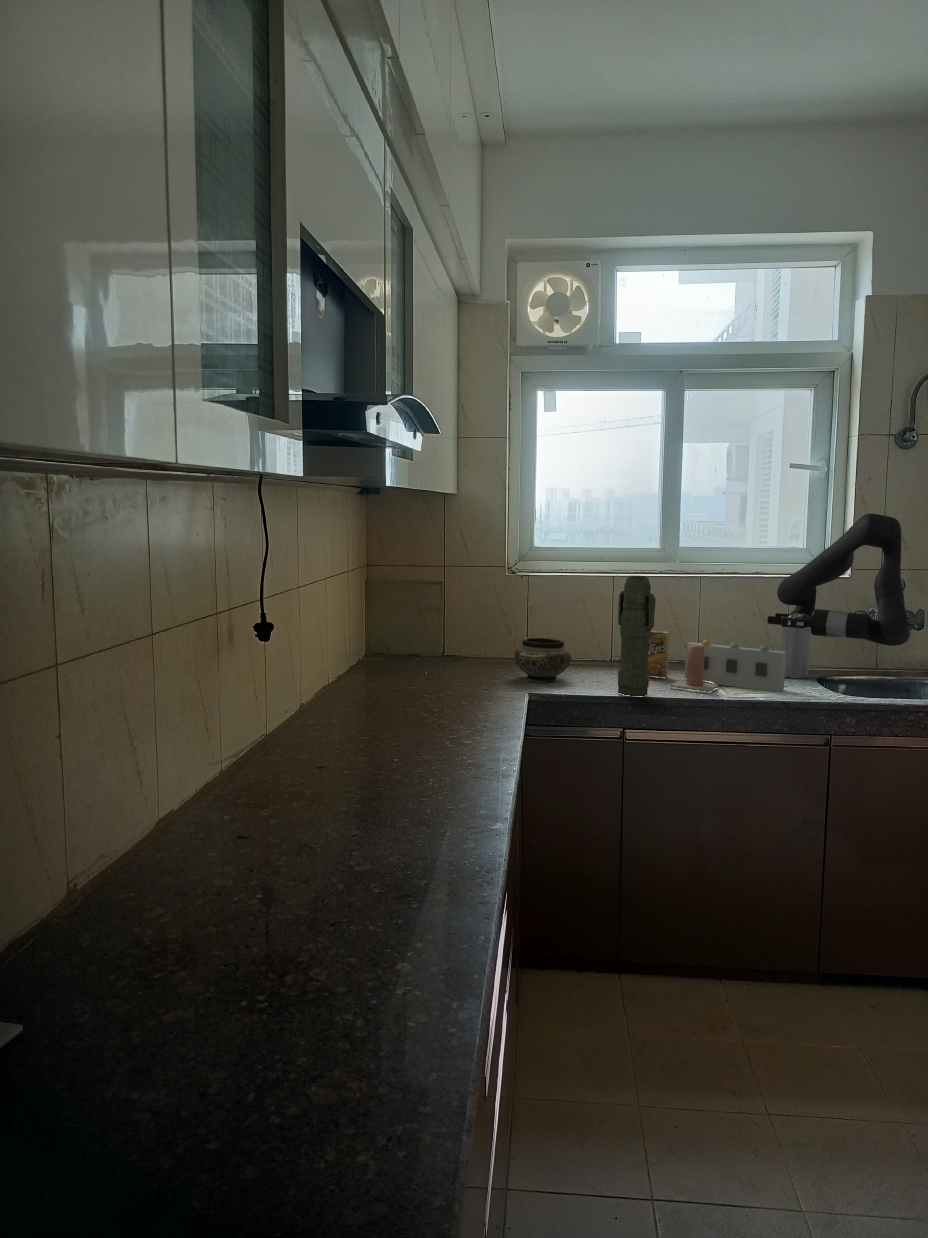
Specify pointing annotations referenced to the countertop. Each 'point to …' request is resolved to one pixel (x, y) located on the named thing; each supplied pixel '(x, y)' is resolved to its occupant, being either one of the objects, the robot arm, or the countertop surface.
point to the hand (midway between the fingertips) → (771, 618)
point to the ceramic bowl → (542, 658)
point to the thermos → (635, 635)
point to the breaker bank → (743, 666)
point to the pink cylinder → (695, 665)
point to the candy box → (658, 653)
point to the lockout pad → (705, 687)
